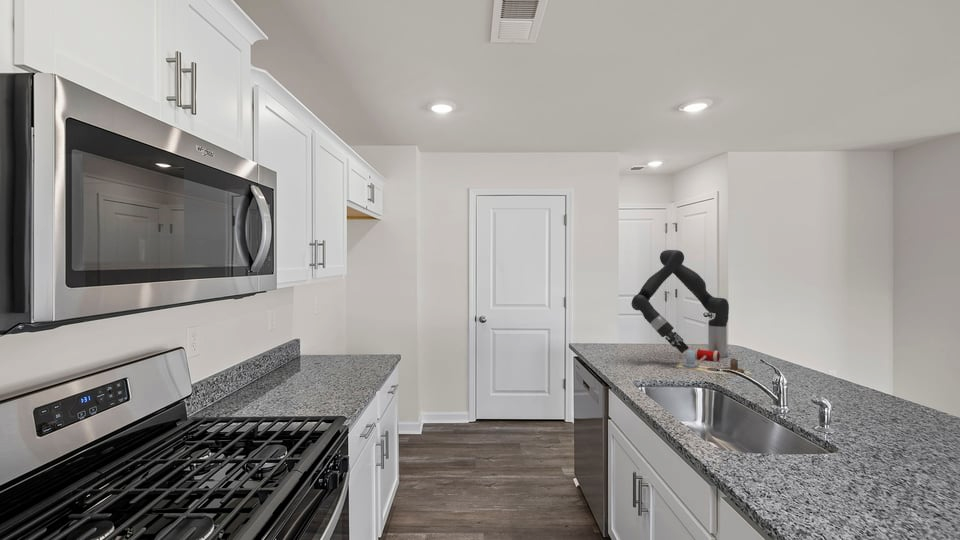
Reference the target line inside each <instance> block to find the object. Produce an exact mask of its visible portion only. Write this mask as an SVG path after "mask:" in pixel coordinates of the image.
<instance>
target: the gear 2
mask: <svg viewBox="0 0 960 540" xmlns="http://www.w3.org/2000/svg"><path fill="white" fill-rule="evenodd" d="M738 360H739V359H737V358H735V357H734V358H731V359H730V360H729V362H730V364H729V365H730V366H728V367H723V368H724V369H730V370H734V371H738V372H741V373H744V371H745V369H743V368H741V367H739V362H738ZM727 373H729V372H727Z"/></svg>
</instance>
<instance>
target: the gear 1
mask: <svg viewBox="0 0 960 540" xmlns="http://www.w3.org/2000/svg"><path fill="white" fill-rule="evenodd" d="M681 363H682V366H683V367H686V368H698V367H699V364H700V363H699V364H697V362H696V359H695V351H694V349H693V350H692V349H687V350H685V362H681Z"/></svg>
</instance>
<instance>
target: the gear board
mask: <svg viewBox="0 0 960 540" xmlns="http://www.w3.org/2000/svg"><path fill="white" fill-rule="evenodd" d="M682 363H683V362H680V363H678V364H677V365H676V366H675V367H674V368H675V369H681V370H687V371H689V370H690V371H695V372H696V371H697V372H698V371H699V372H705V373H710V374H711V373H713V374H720V375H729V376H734V377H738V376H737V375H734V374H731V373H727V372H723V371H717V368H720V367H718V366H710V365H709V366H708V365H699V367H698V368H686V367H683V366H682ZM750 372H751V371H750V370H744V374H746V375H748V376H749V375H750Z"/></svg>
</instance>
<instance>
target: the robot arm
mask: <svg viewBox="0 0 960 540" xmlns="http://www.w3.org/2000/svg"><path fill="white" fill-rule="evenodd" d="M659 261H660V263H661V264H662V266H663V267H662V268H660V270H659V271H657V272H655V273H654V274H652V275H651V276H650V277H648V279H647V280H646V282H645V283H644V284H643V285H642V287H641V288H640V291H639V292H638V293H637V294H636V295H634V297H632V300H631V303H630V304H631V307H632V309H633V310H635V311H639V312H641V314H642V316H643V318H644V320H646V321H647V322H648V323H649V324H650V326H651V327H652V329H654V330H655V331H656V333H658V335H659V336H660V337H661V338H664V337H665V338H664V339H665V340H666V341H667V342H668V343H669V344H670V346H671V347H672V348H676V349H677V350H678V351H679V353H681V354H683V353H684V352H686V350H689V348H690V347H689V346H688V345H687V344H686V343H685V341H684V339H683V338H682V337H681V336H680V335H679V333H677V332H676V331H674V329H675V328H674V326H673V325H672V324H670V322H669V321H668V320H666V318H665V317H664V316H662V315H661V314H660V313H659V312H658V311H657V310H656V309H655V308H654V306H653V304H652V303H651V301H650V299H651V298H652V297H653V296H654V295H655V294H656V292H657V290H659V288H660V287H661V285H662V284H663V283H665V281H666V280H667V279H668V278H669V277H670V276H671V275H674V276H675V277H676V278H677V279H678V280H679V281H680V282H681V283H682V284H683V285H684V286H685V287H686V289H688V290H689V291H690V292H691V293H692V294H693V295H694V297H695V298H696V299H698V301H699V302H700V304H701V305H702V306H703V308H704V309H705V310H706V311H707V312H708V313H711V314H714V318H711V319H709V320H708V325H707V328H708V329H707V332H708V335H707V337H708V340H707V341H708V343H707V345H708V347H707V348H708V349H707V351H719V353H720V358H727V355H728V353H727V352H728V351H727V349H728V347H727V346H728V345H727V342H728V341H727V340H728V337H727V336H728V334H727V330H728V329H727V325H728V321H729V314H730V311H729V309H730V306H729V305H730V304H729V301H728V299H726V298H723V297H717V296H716V297H715V296H713V295H712V294H710V293H709V292H708V291H707V284H706V282H705V280H704V279H703V278H702V277H701V276H700V275H699V273H697V272H696V271H695V270H692V269H691V268H688V267H687V266H685V265H684V264H683V263H684V262H685V254H684V253H683V251H681V250H677V249H666V250H662V252H661V253H660V254H659Z"/></svg>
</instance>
